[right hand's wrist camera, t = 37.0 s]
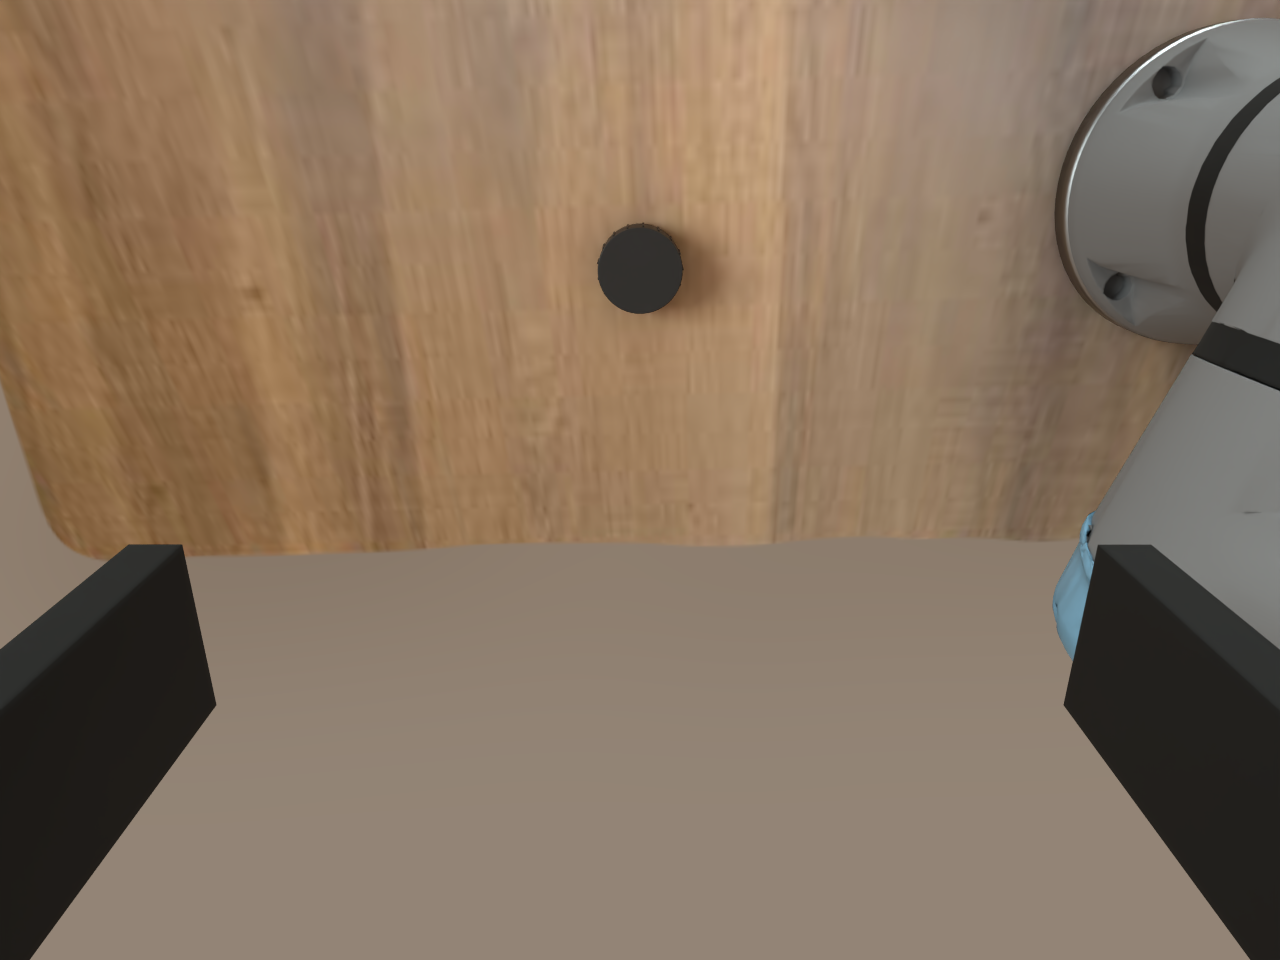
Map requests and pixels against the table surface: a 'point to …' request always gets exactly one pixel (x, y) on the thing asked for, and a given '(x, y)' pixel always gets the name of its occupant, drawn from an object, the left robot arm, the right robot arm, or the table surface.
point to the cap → (640, 268)
